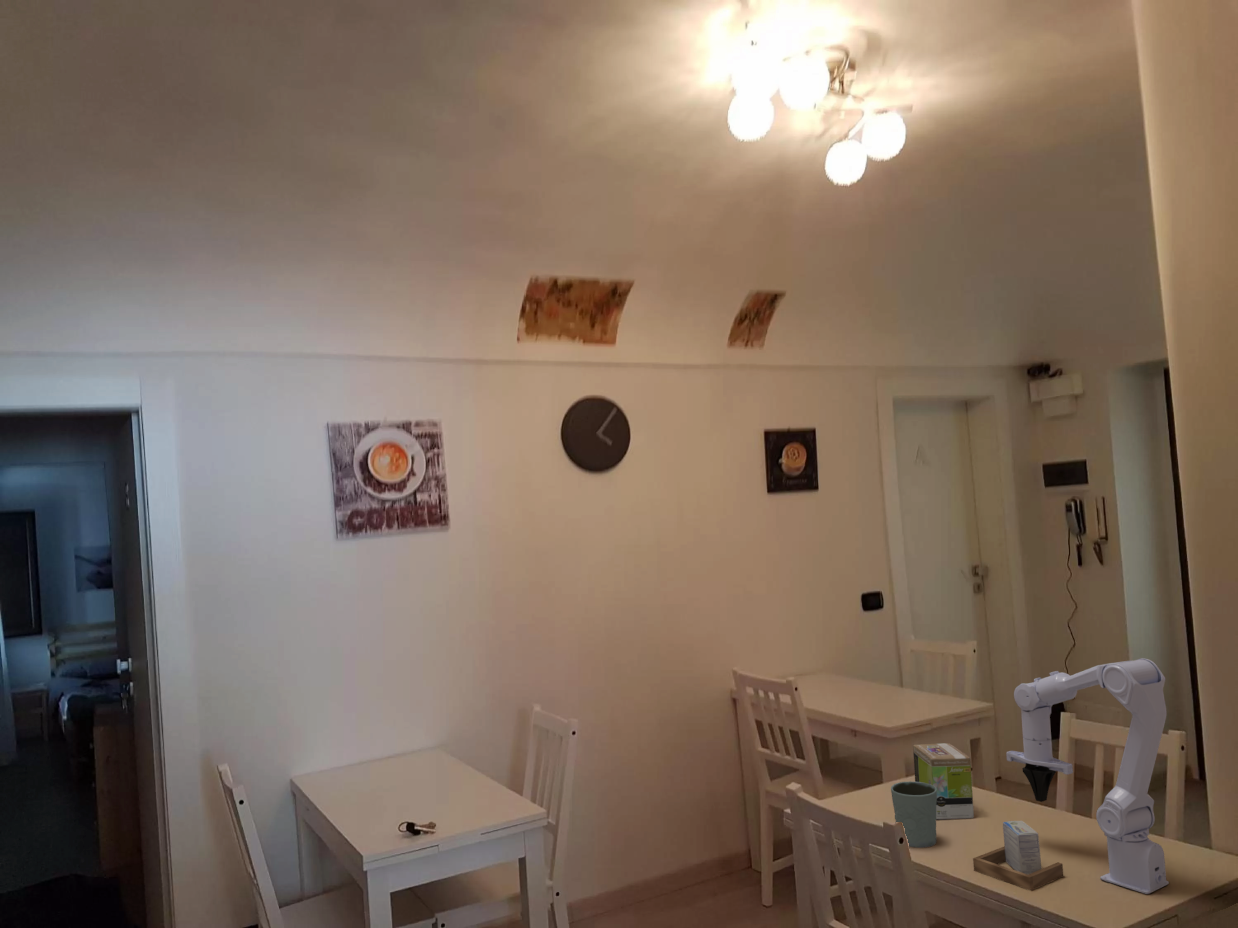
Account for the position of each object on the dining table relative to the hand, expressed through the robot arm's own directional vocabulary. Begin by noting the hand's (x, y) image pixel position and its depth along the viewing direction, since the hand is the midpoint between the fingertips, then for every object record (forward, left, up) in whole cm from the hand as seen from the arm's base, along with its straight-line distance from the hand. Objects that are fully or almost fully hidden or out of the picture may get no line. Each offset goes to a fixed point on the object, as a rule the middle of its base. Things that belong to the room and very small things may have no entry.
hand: (1041, 800), depth 202 cm
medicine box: (-4, +13, -11) cm, 17 cm away
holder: (-4, +15, -11) cm, 19 cm away
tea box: (+31, -5, -11) cm, 33 cm away
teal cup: (+21, +17, -11) cm, 29 cm away
